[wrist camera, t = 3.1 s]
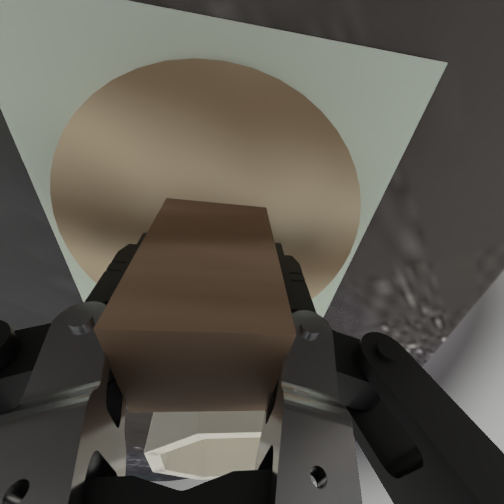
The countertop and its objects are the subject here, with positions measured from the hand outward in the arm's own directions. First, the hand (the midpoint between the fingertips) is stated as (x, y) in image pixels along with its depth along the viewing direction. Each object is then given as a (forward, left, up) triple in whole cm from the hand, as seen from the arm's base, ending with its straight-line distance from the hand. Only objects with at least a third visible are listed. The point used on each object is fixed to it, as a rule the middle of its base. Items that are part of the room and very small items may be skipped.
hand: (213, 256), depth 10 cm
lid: (0, 0, -2) cm, 2 cm away
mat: (0, 0, -3) cm, 3 cm away
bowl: (+15, +2, -3) cm, 15 cm away
